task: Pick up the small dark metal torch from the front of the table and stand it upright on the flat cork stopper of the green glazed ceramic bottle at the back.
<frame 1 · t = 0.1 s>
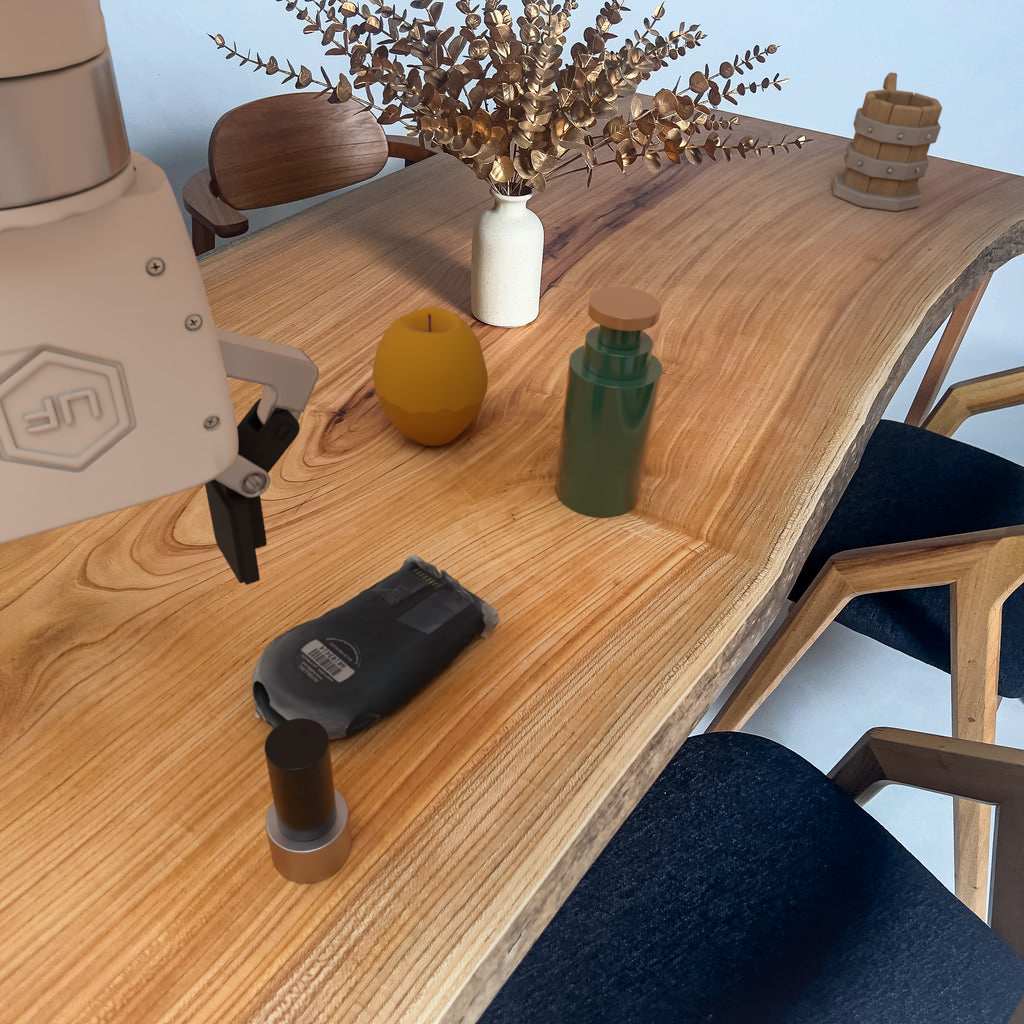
hand: (112, 605, 34), 20 cm above the table, tool pointing down, fingers open, 9 cm apart
apple: (430, 435, 81), on the table
tankard: (871, 189, 141), on the table
bottle: (597, 491, 75), on the table
torch: (311, 847, 49), on the table
electronic device: (368, 668, 59), on the table
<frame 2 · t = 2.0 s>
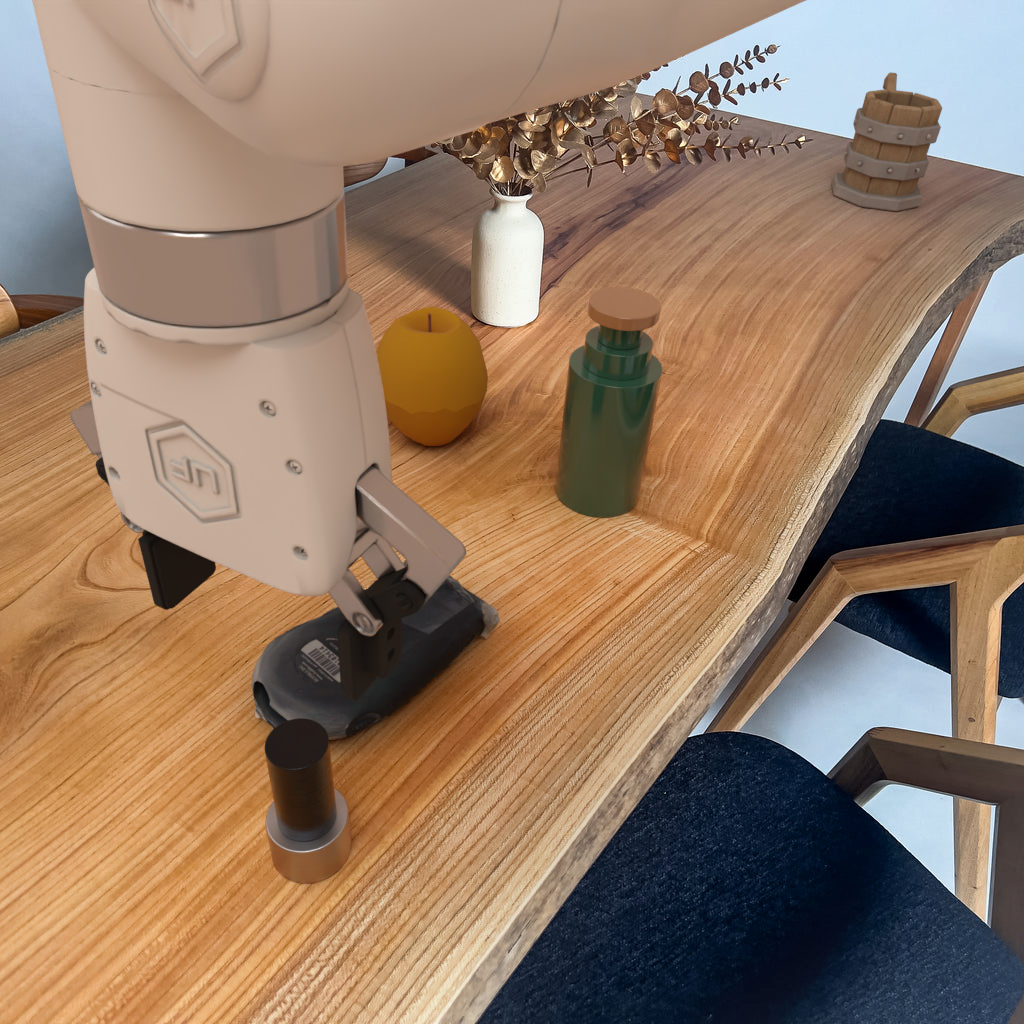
hand: (275, 630, 39), 16 cm above the table, tool pointing down, fingers open, 9 cm apart
nothing on the table moved.
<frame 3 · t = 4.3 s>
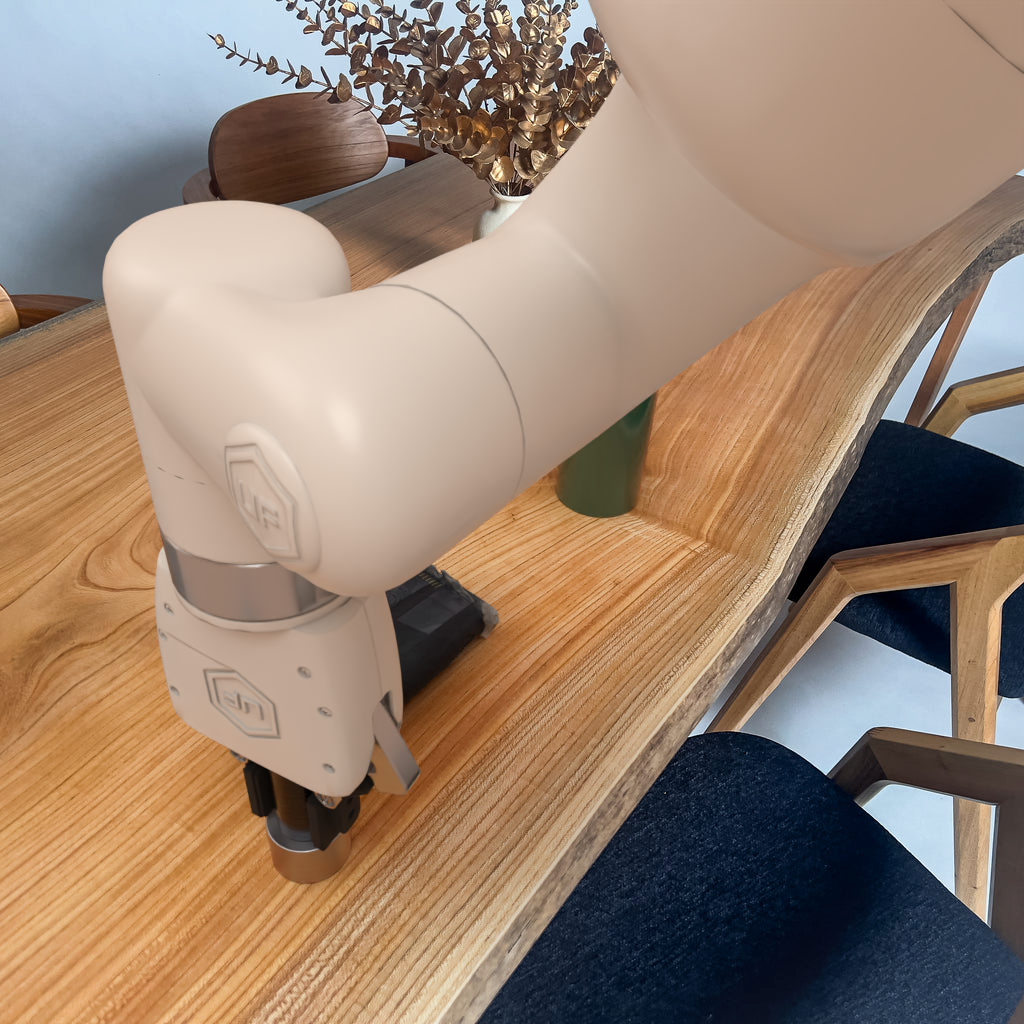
hand: (306, 808, 46), 4 cm above the table, tool pointing down, fingers closed on torch, 3 cm apart
torch: (311, 847, 49), on the table, touching gripper
everything else where it was.
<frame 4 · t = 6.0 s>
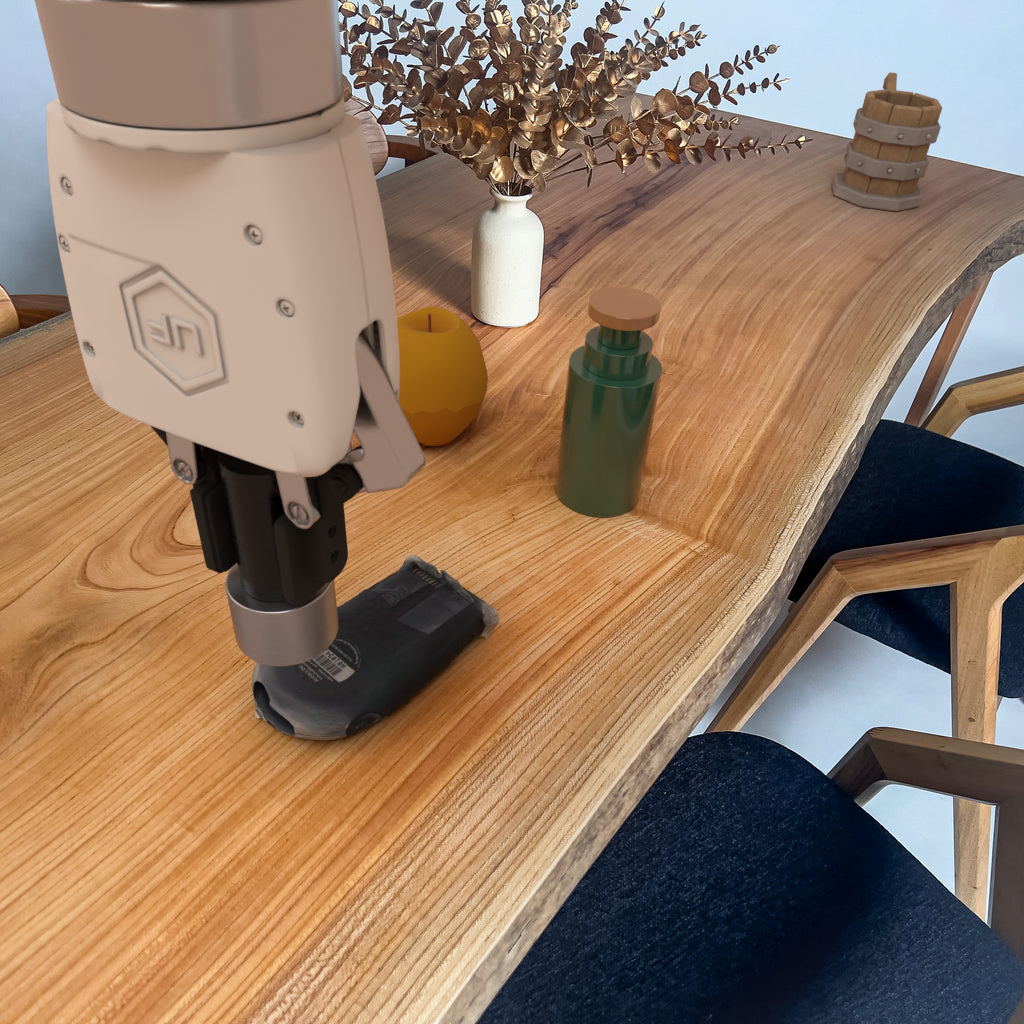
hand: (277, 564, 36), 21 cm above the table, tool pointing down, fingers closed on torch, 3 cm apart
torch: (287, 629, 38), point 17 cm above the table, touching gripper
everything else where it was.
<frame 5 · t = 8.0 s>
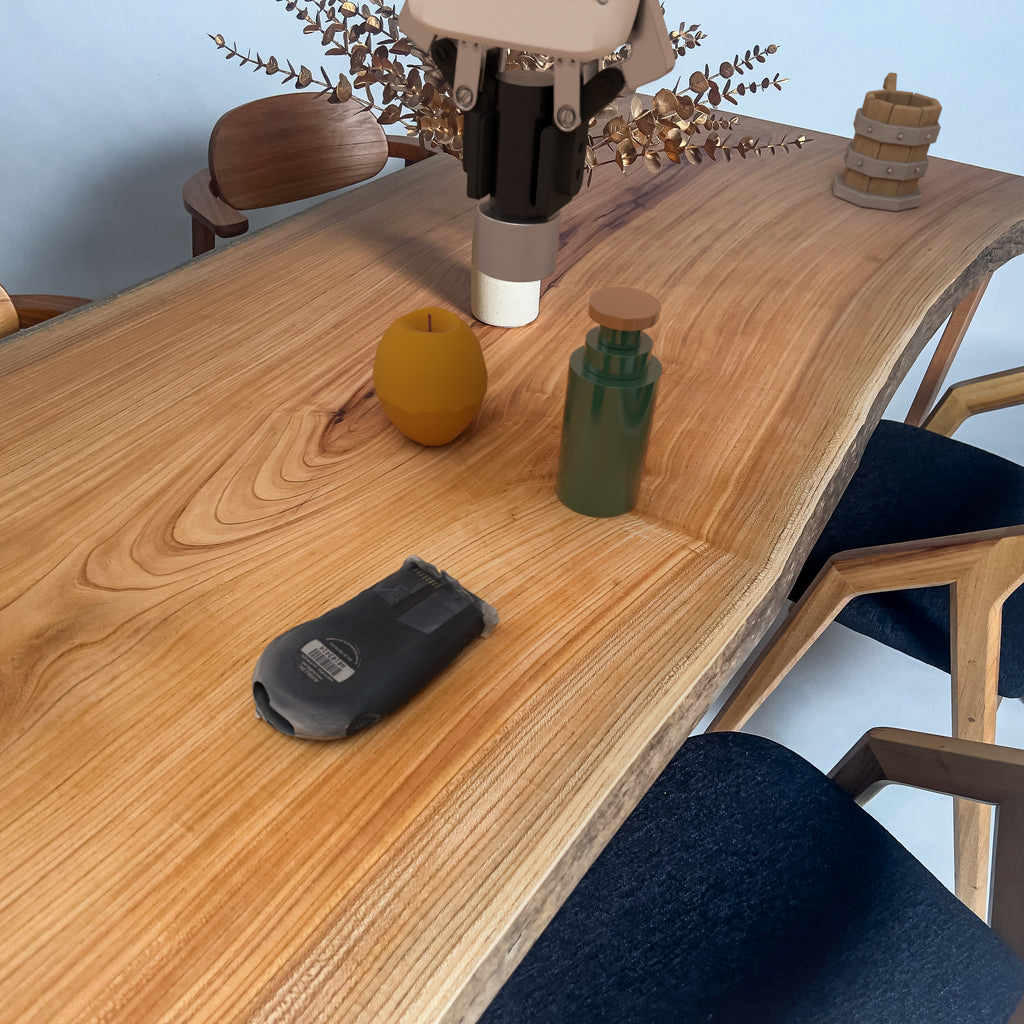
hand: (520, 195, 45), 29 cm above the table, tool pointing down, fingers closed on torch, 3 cm apart
torch: (515, 265, 47), point 26 cm above the table, touching gripper
everything else where it was.
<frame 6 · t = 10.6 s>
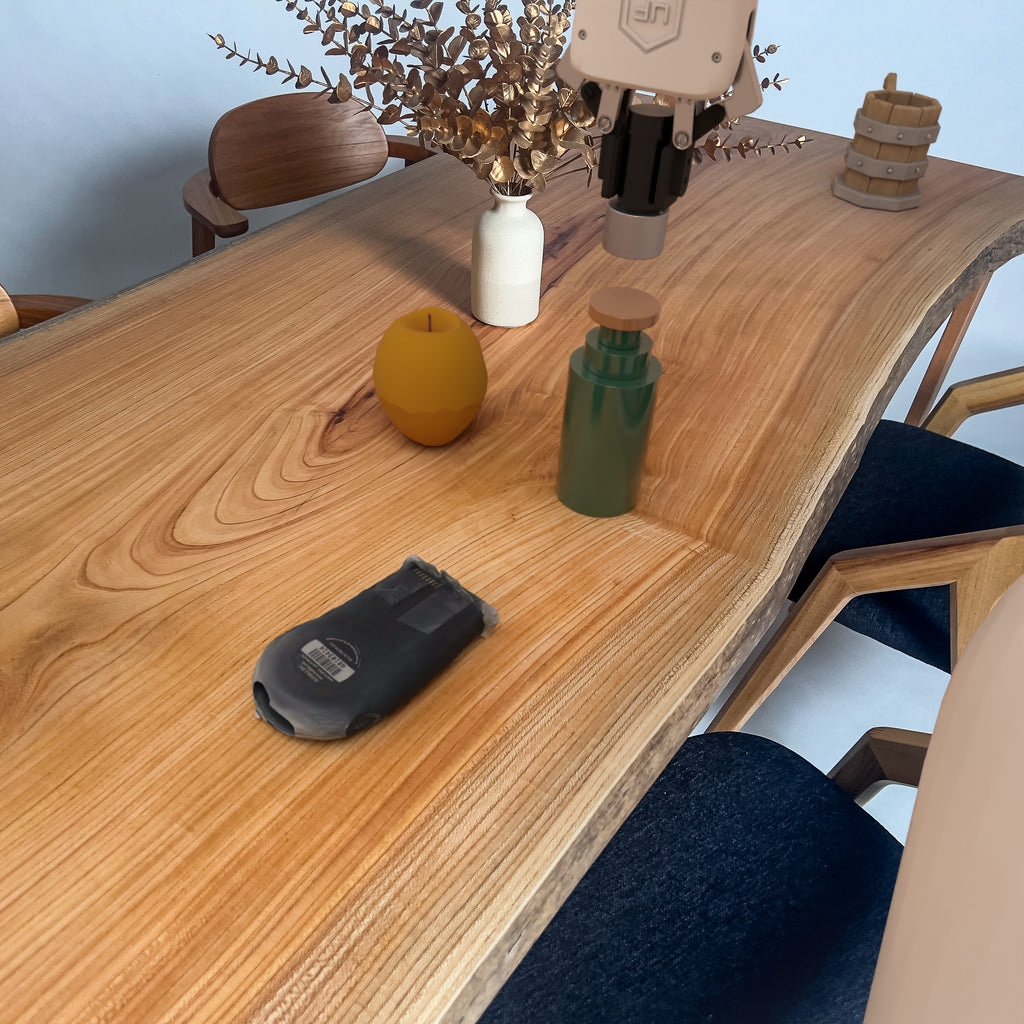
hand: (640, 196, 60), 25 cm above the table, tool pointing down, fingers closed on torch, 3 cm apart
torch: (632, 248, 62), point 21 cm above the table, touching gripper
everything else where it was.
when the fingers open (21 cm above the table, at t = 12.1 s): torch stays where it is, resting on bottle.
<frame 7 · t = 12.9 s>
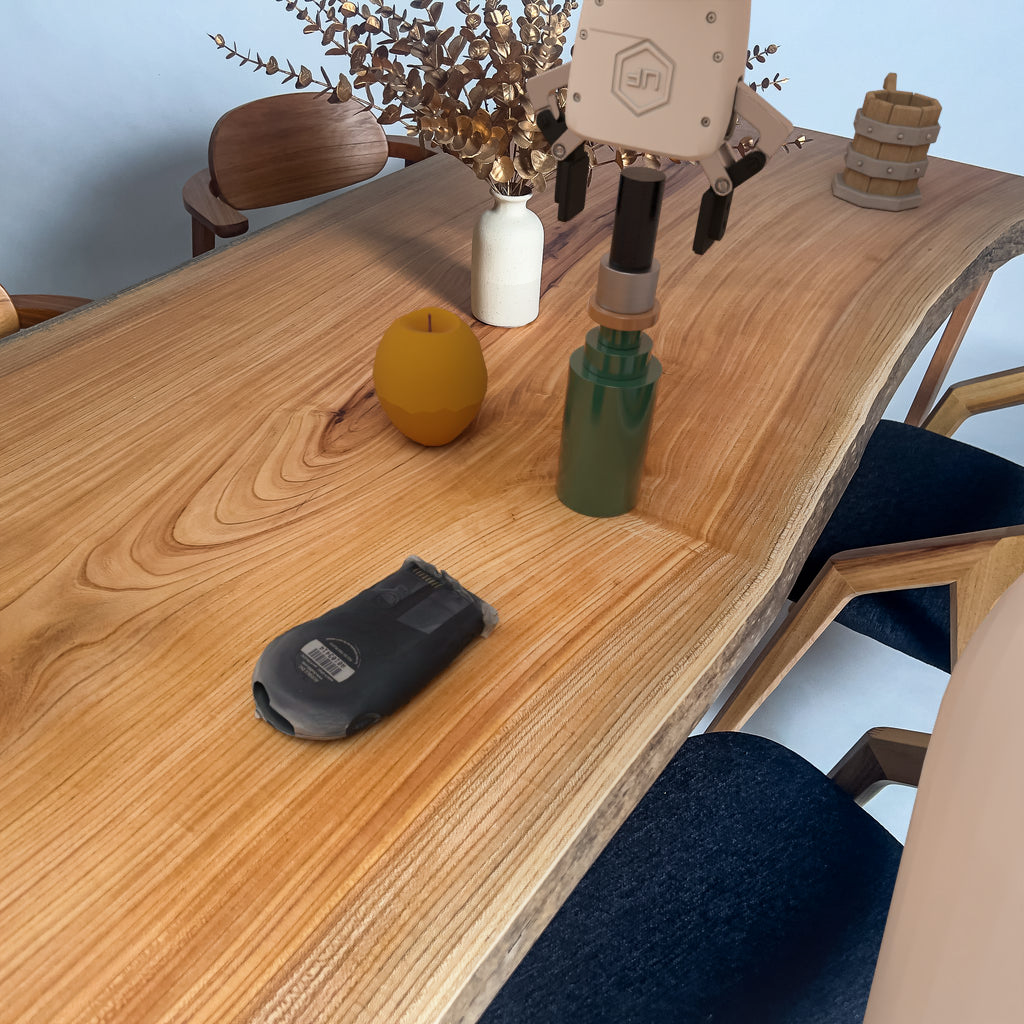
hand: (635, 231, 61), 22 cm above the table, tool pointing down, fingers open, 9 cm apart
torch: (624, 301, 65), point 17 cm above the table, touching bottle
everything else where it was.
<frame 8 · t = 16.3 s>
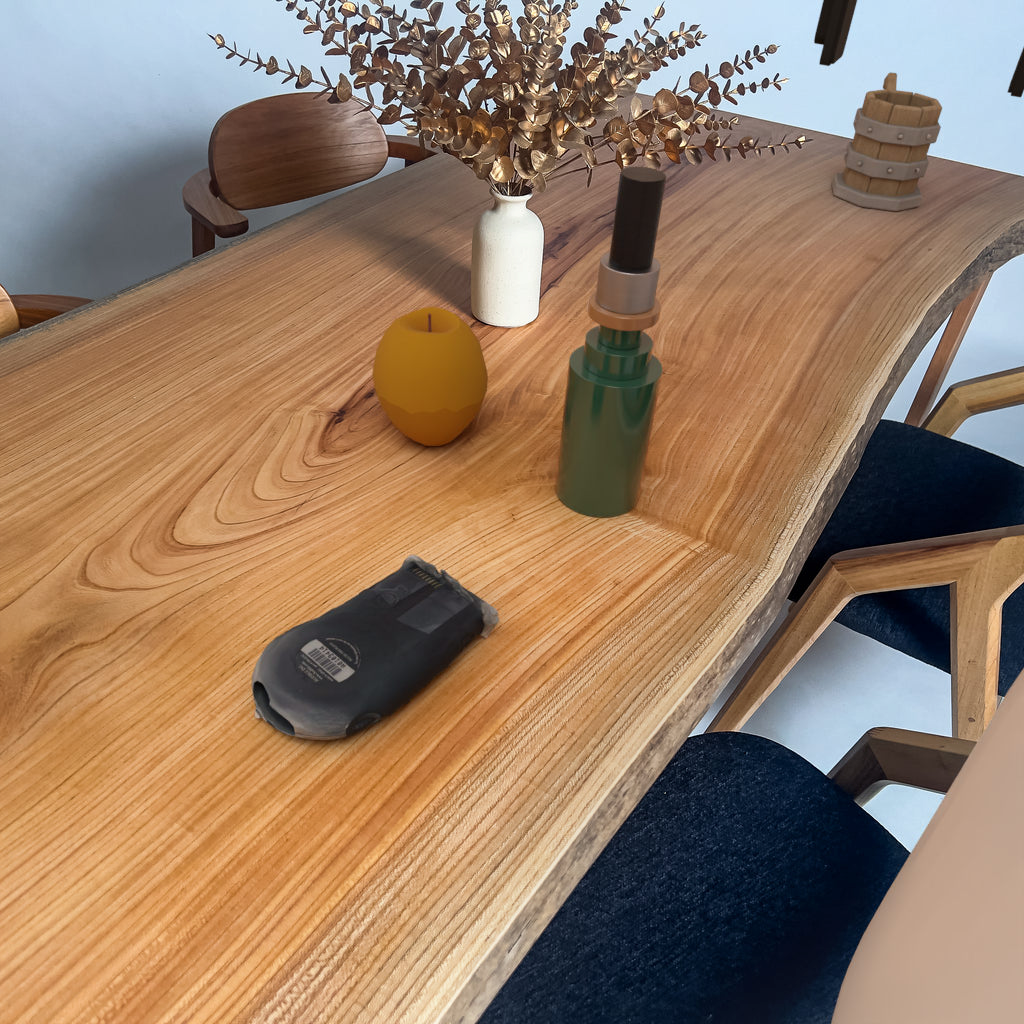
hand: (920, 75, 49), 34 cm above the table, tool pointing down, fingers open, 9 cm apart
nothing on the table moved.
at the end: torch 0.0 cm off-centre on the bottle, point 17.0 cm above the bottle's base; torch tilted 0°; the gripper is holding nothing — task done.
